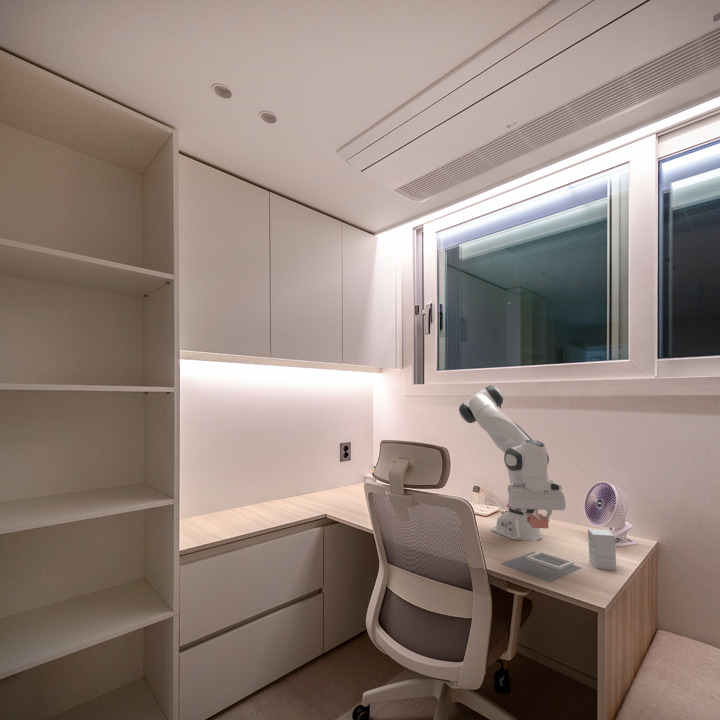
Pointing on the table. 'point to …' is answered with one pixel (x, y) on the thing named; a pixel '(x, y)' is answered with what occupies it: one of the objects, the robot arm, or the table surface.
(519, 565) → the desk mat
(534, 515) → the card deck
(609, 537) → the supplement box
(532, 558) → the frame
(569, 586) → the table surface
